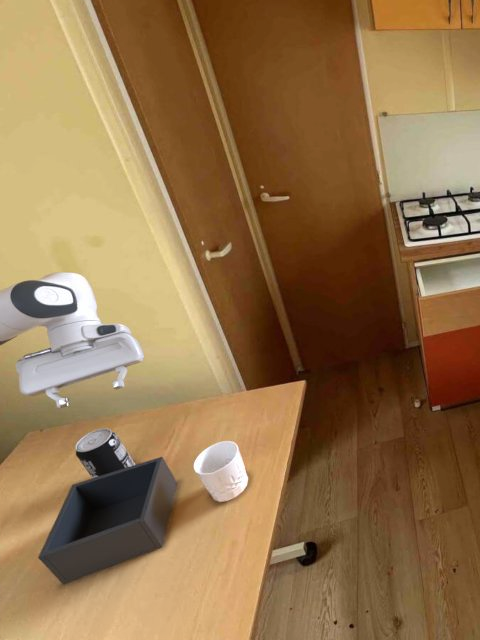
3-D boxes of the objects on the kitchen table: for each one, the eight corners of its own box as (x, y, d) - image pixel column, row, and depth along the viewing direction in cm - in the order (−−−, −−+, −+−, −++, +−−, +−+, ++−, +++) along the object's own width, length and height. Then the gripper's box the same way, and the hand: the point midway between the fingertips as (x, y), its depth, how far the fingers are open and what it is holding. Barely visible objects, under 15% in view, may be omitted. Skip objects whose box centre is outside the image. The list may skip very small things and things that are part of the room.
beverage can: (90, 486, 92) (63, 449, 86) (121, 460, 98) (98, 423, 92) (113, 493, 91) (88, 456, 85) (144, 466, 96) (121, 429, 91)
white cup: (238, 464, 97) (225, 435, 92) (258, 481, 93) (245, 451, 88) (202, 493, 91) (185, 462, 86) (221, 512, 87) (205, 481, 82)
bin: (63, 584, 75) (37, 557, 71) (92, 511, 87) (71, 484, 83) (162, 546, 81) (144, 519, 77) (177, 482, 93) (162, 456, 89)
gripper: (5, 355, 89) (18, 418, 86) (129, 321, 99) (144, 376, 97) (22, 360, 94) (35, 419, 92) (138, 327, 105) (152, 379, 102)
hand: (92, 397), depth 94 cm, fingers open, 8 cm apart
